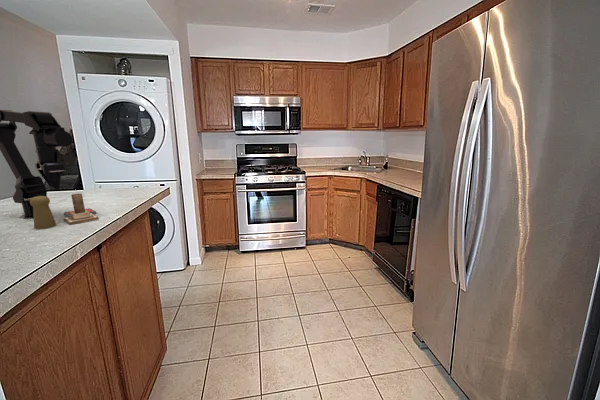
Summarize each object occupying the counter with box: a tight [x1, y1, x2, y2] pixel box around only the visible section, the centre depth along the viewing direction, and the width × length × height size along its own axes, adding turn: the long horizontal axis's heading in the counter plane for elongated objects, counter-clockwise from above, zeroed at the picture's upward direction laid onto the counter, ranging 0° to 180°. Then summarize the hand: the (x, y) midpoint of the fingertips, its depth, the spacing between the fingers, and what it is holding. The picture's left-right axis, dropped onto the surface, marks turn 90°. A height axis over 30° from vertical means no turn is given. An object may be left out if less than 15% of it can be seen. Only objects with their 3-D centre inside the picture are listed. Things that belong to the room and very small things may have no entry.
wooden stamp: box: [70, 193, 90, 220], centre depth 109 cm, size 5×5×9 cm
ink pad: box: [63, 207, 98, 218], centre depth 118 cm, size 9×9×1 cm
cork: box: [30, 196, 57, 230], centre depth 101 cm, size 6×6×11 cm
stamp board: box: [63, 213, 100, 226], centre depth 110 cm, size 9×9×1 cm
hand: (54, 188), depth 110 cm, fingers open, 9 cm apart
